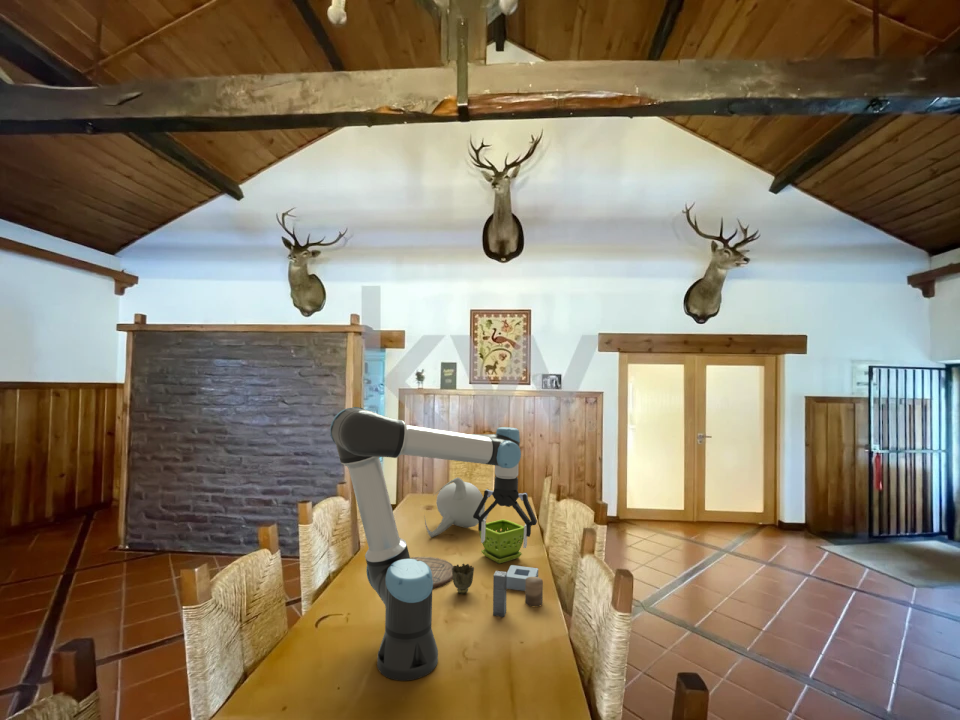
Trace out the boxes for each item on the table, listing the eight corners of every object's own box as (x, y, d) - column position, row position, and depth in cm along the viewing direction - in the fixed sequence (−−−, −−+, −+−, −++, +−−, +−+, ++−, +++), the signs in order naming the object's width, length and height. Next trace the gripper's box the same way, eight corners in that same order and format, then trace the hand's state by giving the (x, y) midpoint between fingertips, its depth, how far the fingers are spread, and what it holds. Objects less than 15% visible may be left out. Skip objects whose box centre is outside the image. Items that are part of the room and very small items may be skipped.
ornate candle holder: (454, 598, 150) (454, 573, 150) (449, 588, 157) (449, 564, 157) (476, 596, 152) (476, 571, 152) (470, 586, 159) (471, 562, 159)
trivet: (443, 594, 153) (443, 588, 153) (373, 586, 158) (373, 581, 158) (461, 565, 178) (461, 560, 178) (400, 558, 183) (400, 554, 183)
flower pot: (503, 548, 194) (504, 518, 195) (526, 559, 183) (526, 527, 184) (477, 555, 186) (477, 524, 187) (498, 567, 175) (499, 533, 175)
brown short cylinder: (541, 607, 145) (541, 585, 145) (523, 605, 146) (524, 582, 146) (543, 599, 150) (543, 577, 150) (526, 597, 152) (527, 575, 152)
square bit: (503, 617, 139) (504, 576, 139) (492, 615, 140) (493, 575, 140) (506, 611, 142) (506, 572, 143) (495, 610, 143) (496, 570, 143)
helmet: (500, 489, 221) (455, 483, 194) (475, 545, 221) (426, 547, 194) (466, 466, 237) (419, 458, 210) (442, 519, 236) (393, 518, 209)
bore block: (534, 592, 155) (534, 580, 155) (504, 588, 158) (505, 576, 158) (538, 579, 165) (538, 568, 165) (510, 576, 167) (510, 565, 168)
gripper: (546, 477, 148) (544, 544, 147) (471, 470, 154) (468, 535, 153) (544, 482, 141) (542, 553, 140) (465, 474, 147) (462, 542, 145)
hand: (503, 544), depth 146 cm, fingers open, 13 cm apart
